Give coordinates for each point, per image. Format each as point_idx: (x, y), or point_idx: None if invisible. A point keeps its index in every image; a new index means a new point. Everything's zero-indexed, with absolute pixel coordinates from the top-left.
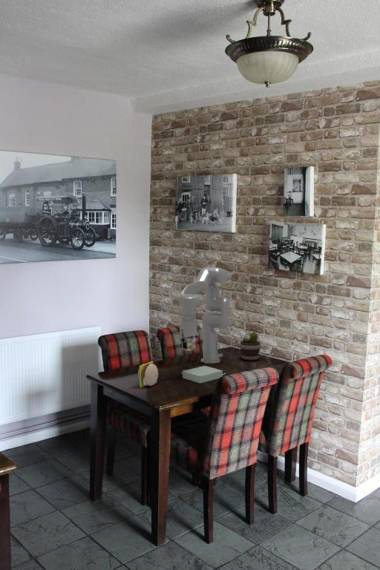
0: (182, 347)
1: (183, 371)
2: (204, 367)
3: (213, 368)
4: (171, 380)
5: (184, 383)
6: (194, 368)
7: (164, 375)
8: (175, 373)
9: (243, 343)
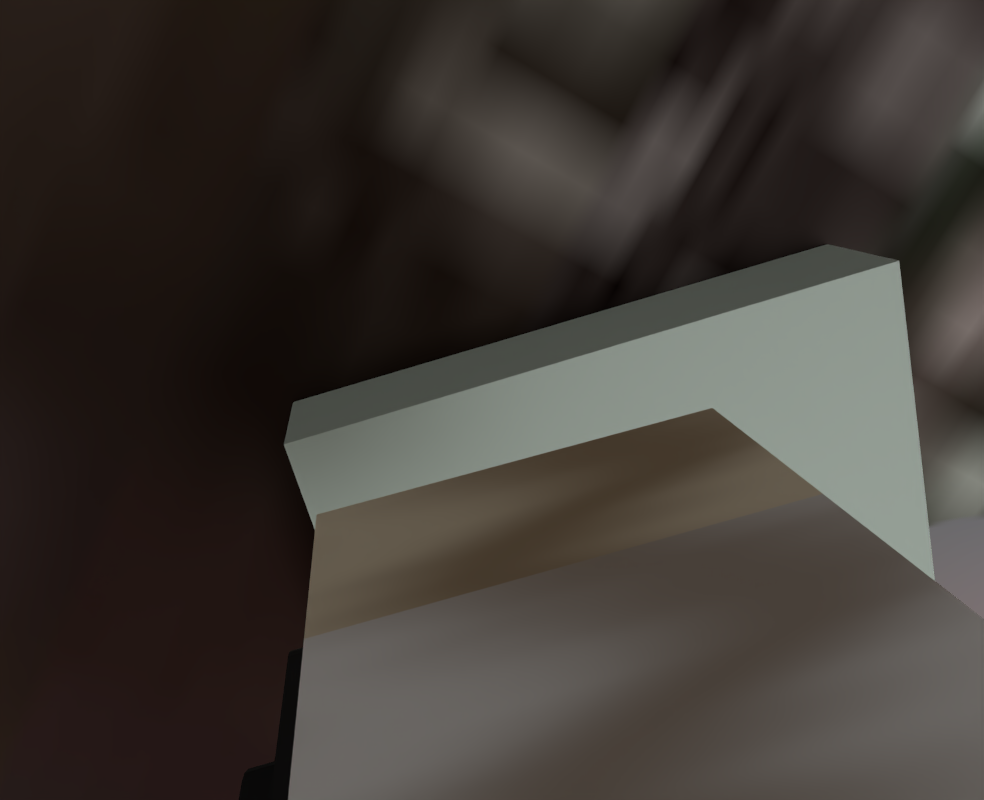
0: (319, 570)
1: (296, 467)
2: (818, 377)
3: (911, 512)
4: (33, 459)
5: (193, 696)
6: (610, 355)
7: (4, 63)
8: (291, 35)
9: None
